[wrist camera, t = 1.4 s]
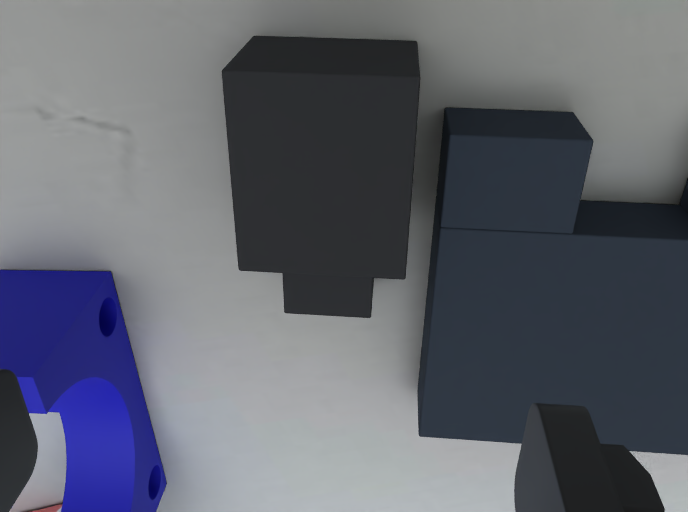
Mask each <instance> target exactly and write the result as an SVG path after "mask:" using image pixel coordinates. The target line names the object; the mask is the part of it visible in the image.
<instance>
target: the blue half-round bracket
mask: <svg viewBox="0 0 688 512" xmlns="http://www.w3.org/2000/svg"><path fill="white" fill-rule="evenodd" d="M0 369H7V370H10V371H12V372H13V373H14V374H15V375H16V377H17V379H18V382H19V385H20V388H21V391H22V394H23V397H24V400H25V403H26V407H27V410H28V413H40V414H47V412H59V413H60V416H61V420H62V423H63V428H64V433H65V440H66V454H67V470H66V483H65V492H64V498H63V504H62V509H61V512H156V510H157V507H158V505H159V502H160V500H161V497H162V495H163V492H164V489H165V487H166V484H167V482H166V478H165V475H164V471H163V467H162V463H161V460H160V456H159V452H158V448H157V444H156V441H155V437H154V433H153V429H152V425H151V422H150V418H149V414H148V410H147V406H146V403H145V399H144V395H143V391H142V387H141V384H140V380H139V376H138V372H137V368H136V365H135V361H134V357H133V353H132V349H131V346H130V342H129V338H128V334H127V331H126V327H125V323H124V319H123V315H122V312H121V308H120V304H119V300H118V296H117V293H116V289H115V285H114V281H113V277H112V274H111V271H35V270H0Z"/></svg>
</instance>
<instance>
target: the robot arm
mask: <svg viewBox="0 0 688 512" xmlns="http://www.w3.org/2000/svg"><path fill="white" fill-rule="evenodd" d="M37 451H38V444H37V438H36V434H35V431H34V428H33V425H32V422H31V419H30V416H29V413H28V410H27V407H26V403H25V400H24V397H23V394H22V391H21V388H20V385H19V382H18V379H17V377H16V375H15V374H14V373H13V372H12V371H10V370H7V369H0V512H9V511H10V509H11V508H12V506H13V504H14V503H15V501H16V500H17V498H18V496H19V495H20V493H21V492H22V490H23V488H24V487H25V485H26V484H27V482H28V480H29V479H30V477H31V475H32V472H33V470H34V467H35V463H36V459H37ZM514 492H515V510H516V512H664V511H665V508H664V506H663V504H662V501H661V499H660V496H659V494H658V492H657V489H656V487H655V485H654V482H653V480H652V477H651V475H650V474H649V473H648V472H647V471H646V469H645V468H644V467H643V466H642V465H641V464H640V463H639V462H638V461H637V459H636V458H635V457H634V456H633V455H632V454H631V453H630V452H629V451H628V450H627V448H626V447H625V446H624V445H616V444H601V443H600V441H599V439H598V436H597V433H596V430H595V427H594V425H593V422H592V419H591V416H590V414H589V412H588V410H587V408H586V407H584V406H575V405H559V404H543V403H533V404H532V405H531V406H530V409H529V412H528V417H527V422H526V426H525V431H524V436H523V441H522V445H521V450H520V455H519V460H518V464H517V469H516V475H515V489H514Z"/></svg>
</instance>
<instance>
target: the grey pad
mask: <svg viewBox="0 0 688 512" xmlns="http://www.w3.org/2000/svg"><path fill="white" fill-rule="evenodd" d="M592 145H593V139H592V138H591V137H590V135H589V134H588V132H587V131H586V130H585V128H584V127H583V125H582V124H581V123H580V121H579V120H578V118H577V117H576V116H575V114H574V113H573V112H551V111H524V110H497V109H471V108H445V111H444V121H443V132H442V142H441V152H440V163H439V173H438V184H437V196H436V205H435V215H434V225H433V236H432V246H431V257H430V267H429V277H428V288H427V298H426V309H425V319H424V329H423V340H422V350H421V361H420V371H419V381H418V426H419V436H420V437H435V438H449V439H464V440H478V441H493V442H507V443H522V441H523V436H524V431H525V426H526V422H527V417H528V412H529V409H530V406H531V405H532V404H533V403H543V404H559V405H575V406H584V407H586V408H587V410H588V412H589V414H590V416H591V419H592V422H593V425H594V427H595V430H596V433H597V436H598V439H599V441H600V443H601V444H616V445H624V446H625V447H626V448H627V450H628V451H638V452H652V453H667V454H681V455H688V179H687V182H686V185H685V188H684V191H683V195H682V198H681V201H680V205H667V204H645V203H623V202H601V201H580V199H581V194H582V190H583V185H584V181H585V176H586V172H587V167H588V163H589V159H590V154H591V150H592Z"/></svg>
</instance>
